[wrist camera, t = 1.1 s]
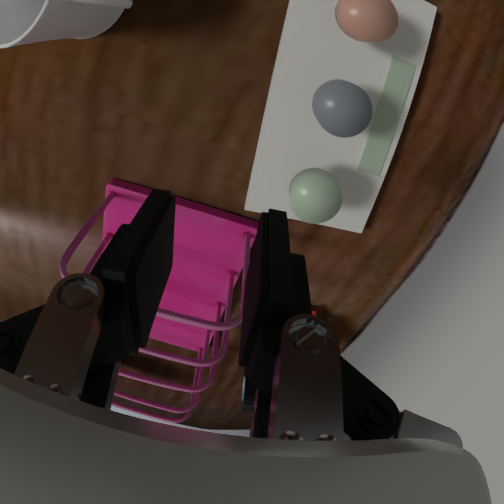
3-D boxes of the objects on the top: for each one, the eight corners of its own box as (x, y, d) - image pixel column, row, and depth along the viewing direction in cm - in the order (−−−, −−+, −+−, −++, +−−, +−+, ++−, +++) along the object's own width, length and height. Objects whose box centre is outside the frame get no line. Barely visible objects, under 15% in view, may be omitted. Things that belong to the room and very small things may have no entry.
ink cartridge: (246, 361, 52) (243, 401, 45) (259, 362, 52) (257, 402, 45) (242, 375, 54) (239, 413, 48) (254, 376, 55) (253, 414, 48)
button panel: (299, -40, 17) (300, -45, 16) (429, 8, 18) (437, 7, 17) (245, 202, 33) (244, 210, 32) (358, 225, 34) (361, 234, 33)
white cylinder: (173, -21, 19) (118, -52, 9) (135, 55, 24) (65, 69, 14) (78, -39, 16) (1, -53, 6) (48, 31, 21) (-33, 45, 11)
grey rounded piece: (316, 71, 22) (323, 74, 19) (365, 86, 22) (379, 92, 19) (304, 119, 24) (309, 129, 22) (352, 131, 25) (363, 144, 22)
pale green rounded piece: (294, 156, 27) (297, 171, 24) (340, 167, 27) (349, 184, 24) (282, 199, 29) (284, 218, 27) (326, 208, 30) (332, 228, 27)
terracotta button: (336, -12, 17) (347, -20, 14) (386, 6, 17) (403, 2, 15) (326, 32, 20) (335, 30, 17) (376, 49, 20) (391, 50, 17)
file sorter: (259, 220, 35) (254, 335, 22) (207, 344, 49) (193, 433, 37) (112, 176, 32) (35, 266, 19) (106, 314, 46) (72, 396, 34)
